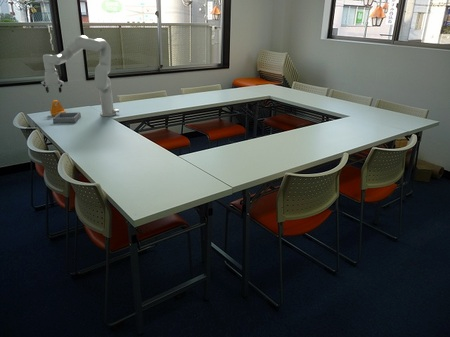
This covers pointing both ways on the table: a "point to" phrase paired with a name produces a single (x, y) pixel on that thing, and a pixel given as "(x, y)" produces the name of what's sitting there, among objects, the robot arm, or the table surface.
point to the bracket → (56, 108)
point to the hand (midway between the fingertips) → (54, 92)
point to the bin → (67, 117)
